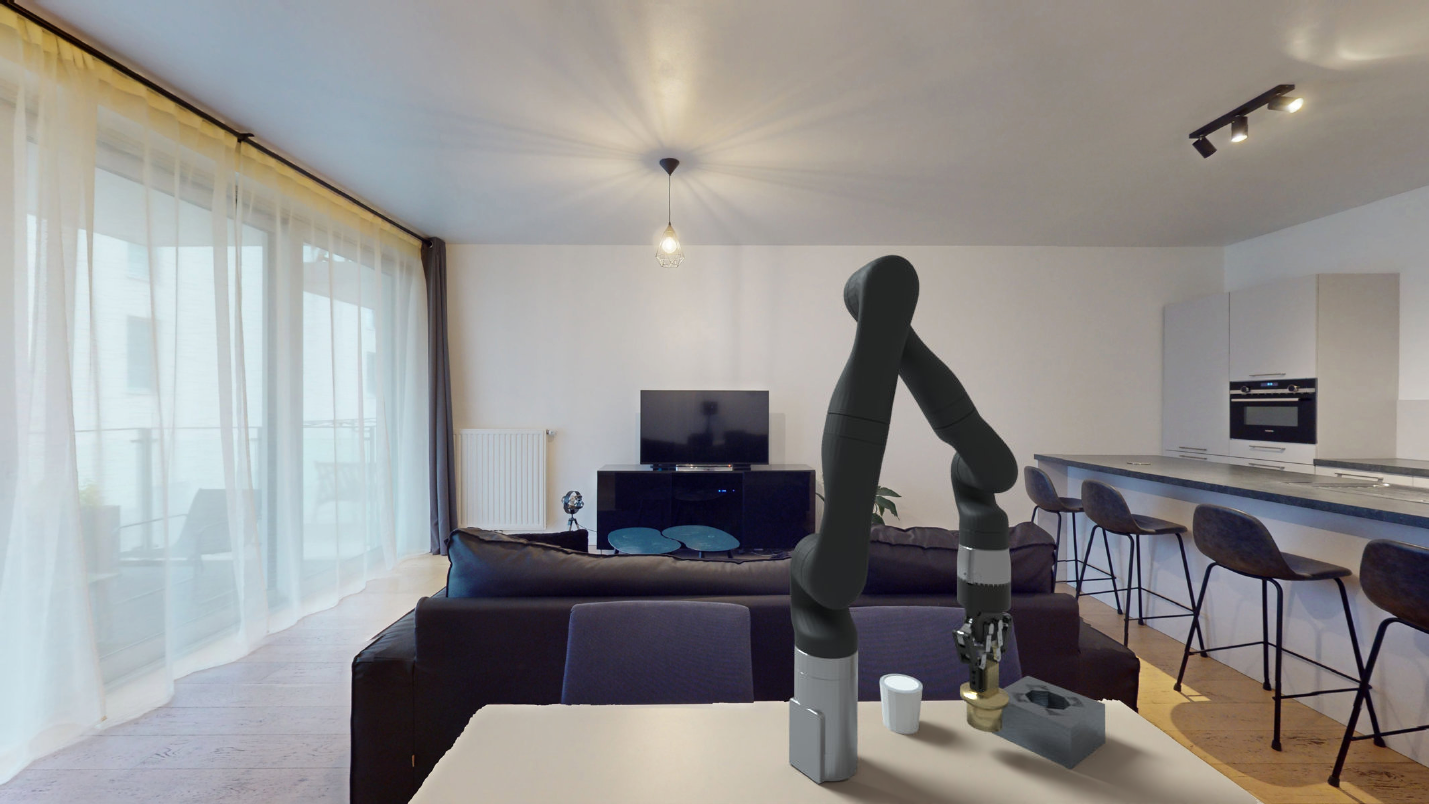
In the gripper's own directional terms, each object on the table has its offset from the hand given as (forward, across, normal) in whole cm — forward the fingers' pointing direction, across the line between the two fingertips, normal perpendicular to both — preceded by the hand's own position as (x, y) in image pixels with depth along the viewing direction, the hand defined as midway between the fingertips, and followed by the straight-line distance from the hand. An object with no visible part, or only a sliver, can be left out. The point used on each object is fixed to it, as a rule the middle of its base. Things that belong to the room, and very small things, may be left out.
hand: (983, 686), depth 90 cm
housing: (+10, -12, +4) cm, 16 cm away
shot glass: (+10, +4, -12) cm, 16 cm away
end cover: (+6, 0, 0) cm, 6 cm away
